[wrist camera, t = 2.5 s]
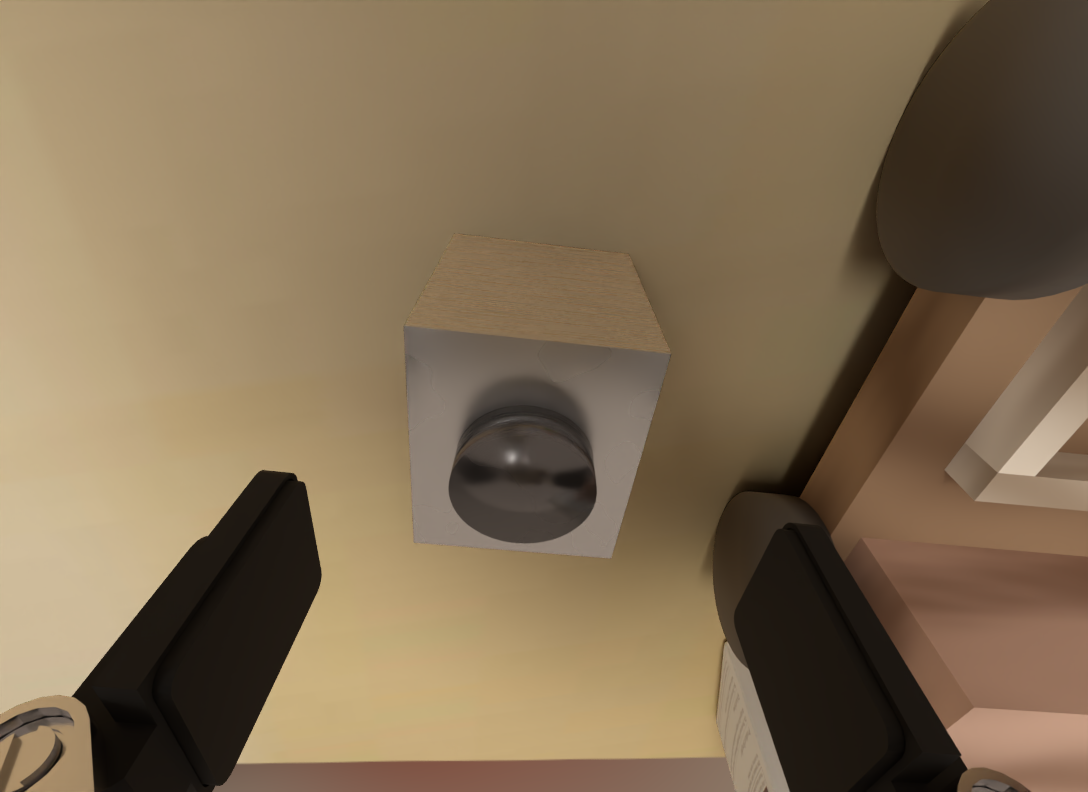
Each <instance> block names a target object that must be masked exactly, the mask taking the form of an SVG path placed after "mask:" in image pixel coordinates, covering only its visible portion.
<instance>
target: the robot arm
mask: <svg viewBox="0 0 1088 792" xmlns="http://www.w3.org/2000/svg"><path fill="white" fill-rule="evenodd" d="M321 575H322V574H321V567H320V561H319V556H318V550H317V545H316V539H315V534H314V528H313V523H312V518H311V512H310V507H309V501H308V496H307V490H306V486H305V483H304V482H300V481H298V480H297V477H296V475H295V474H294V473H286V472H276V471H266V470H262V471H260V472H258V473H257V474H256V475H255V477H254V478H253V479H252V480H251V482H250V483H249V484H248V486H247V487H246V488H245V489H244V491H243V492H242V493H241V495H240V496H239V497H238V498H237V500H236V501H235V502H234V504H233V505H232V506H231V507H230V509H229V510H228V511H227V513H226V514H225V515H224V516H223V518H222V519H221V520H220V522H219V523H218V524H217V525H216V527H215V528H214V529H213V530H212V532H211V533H210V534H209V536H205V537H203V538H201V539H200V540H198V541H197V542H196V543H195V544H194V545H193V546H192V547H191V548H190V549H189V550H188V552H187V553H186V554H185V555H184V557H183V558H182V559H181V560H180V562H179V563H178V564H177V565H176V567H175V568H174V569H173V570H172V572H171V573H170V574H169V575H168V577H167V578H166V579H165V580H164V582H163V583H162V584H161V585H160V587H159V588H158V589H157V590H156V592H155V593H154V594H153V595H152V597H151V598H150V599H149V600H148V602H147V603H146V604H145V605H144V607H143V608H142V609H141V610H140V612H139V613H138V614H137V615H136V617H135V618H134V619H133V621H132V622H131V623H130V624H129V626H128V627H127V628H126V629H125V631H124V632H123V633H122V634H121V636H120V637H119V638H118V639H117V641H116V642H115V643H114V644H113V646H112V647H111V648H110V649H109V651H108V652H107V653H106V654H105V656H104V657H103V658H102V659H101V661H100V662H99V663H98V664H97V666H96V667H95V668H94V669H93V671H92V672H91V673H90V674H89V676H88V677H87V678H86V679H85V681H84V682H83V683H82V684H81V686H80V687H79V688H78V690H77V691H76V692H75V693H74V695H73V696H72V697H68V696H62V695H55V696H48V697H40V698H37V699H34V700H31V701H28V702H25V703H23V704H20V705H17V706H15V707H13V708H11V709H9V710H8V711H6V712H4V713H2V714H0V792H212V791H213V789H214V787H215V785H216V786H220V785H223V784H224V783H225V782H226V781H227V779H228V778H229V776H230V775H231V773H232V771H233V769H234V767H235V765H236V763H237V761H238V759H239V756H240V754H241V752H242V750H243V748H244V746H245V744H246V742H247V740H248V737H249V735H250V733H251V731H252V729H253V727H254V725H255V723H256V721H257V718H258V716H259V714H260V712H261V710H262V708H263V706H264V704H265V702H266V699H267V697H268V695H269V693H270V691H271V689H272V687H273V685H274V683H275V680H276V678H277V676H278V674H279V672H280V670H281V668H282V666H283V664H284V661H285V659H286V657H287V655H288V653H289V651H290V649H291V647H292V645H293V642H294V640H295V638H296V636H297V634H298V632H299V630H300V628H301V626H302V623H303V621H304V619H305V617H306V615H307V613H308V611H309V609H310V607H311V604H312V602H313V600H314V598H315V596H316V594H317V592H318V589H319V586H320V582H321ZM734 626H735V629H736V633H737V635H738V638H739V641H740V644H741V647H742V650H743V653H744V656H745V659H746V662H747V665H748V668H749V671H750V674H751V677H752V680H753V683H754V686H755V689H756V692H757V695H758V698H759V701H760V704H761V707H762V710H763V713H764V716H765V719H766V722H767V725H768V728H769V731H770V734H771V737H772V740H773V743H774V746H775V749H776V752H777V755H778V758H779V761H780V764H781V767H782V770H783V773H784V776H785V779H786V782H787V785H788V788H789V791H790V792H1031V791H1030V790H1029V789H1027V788H1026V787H1025V786H1023V785H1022V784H1021V783H1019V782H1018V781H1016V780H1014V779H1012V778H1010V777H1009V776H1007V775H1005V774H1003V773H1001V772H998V771H995V770H992V769H988V768H985V767H981V768H970V769H969V770H968V769H967V767H966V765H965V764H964V762H963V761H962V759H961V757H960V756H962V755H961V753H960V751H959V750H958V748H957V747H956V745H955V743H954V742H953V740H952V738H951V737H950V735H949V733H948V732H947V730H946V729H945V727H944V725H943V724H942V722H941V720H940V719H939V717H938V715H937V714H936V712H935V711H934V709H933V707H932V706H931V704H930V702H929V701H928V699H927V697H926V696H925V694H924V693H923V691H922V689H921V688H920V686H919V684H918V683H917V681H916V679H915V678H914V676H913V675H912V673H911V671H910V670H909V668H908V666H907V665H906V663H905V661H904V660H903V658H902V657H901V655H900V653H899V652H898V650H897V648H896V647H895V645H894V643H893V642H892V640H891V639H890V637H889V635H888V634H887V632H886V630H885V629H884V627H883V625H882V624H881V622H880V621H879V619H878V617H877V616H876V614H875V612H874V611H873V609H872V607H871V606H870V604H869V603H868V601H867V599H866V598H865V596H864V594H863V593H862V591H861V589H860V588H859V586H858V585H857V583H856V581H855V580H854V578H853V576H852V575H851V573H850V572H849V570H848V568H847V567H846V565H845V563H844V562H843V560H842V558H841V557H840V555H839V554H838V552H837V550H836V549H835V547H834V545H833V544H832V542H831V540H830V539H829V537H828V536H827V534H826V532H825V531H824V530H823V528H822V527H820V526H818V525H811V524H801V523H789V522H788V523H787V524H785V525H784V527H783V528H782V529H777V530H776V531H775V533H774V535H773V536H772V538H771V540H770V542H769V544H768V546H767V548H766V550H765V552H764V554H763V556H762V558H761V560H760V562H759V564H758V566H757V568H756V570H755V572H754V574H753V576H752V578H751V579H750V581H749V583H748V585H747V587H746V589H745V591H744V593H743V595H742V597H741V599H740V601H739V603H738V605H737V607H736V609H735V612H734Z"/></svg>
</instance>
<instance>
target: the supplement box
mask: <svg viewBox="0 0 1088 792" xmlns="http://www.w3.org/2000/svg"><path fill="white" fill-rule="evenodd" d="M716 723H717V726H718V729H719V733H720V736H721V740H722V744H723V747H724V751H725V755H726V758H727V762H728V766H729V769H730V773H731V777H732V780H733V784H734V788H735V792H790V791H789V788H788V785H787V782H786V779H785V776H784V773H783V770H782V767H781V764H780V761H779V758H778V755H777V752H776V749H775V746H774V743H773V740H772V737H771V734H770V731H769V728H768V725H767V722H766V719H765V716H764V713H763V710H762V707H761V704H760V701H759V698H758V695H757V692H756V689H755V686H754V683H753V680H752V677H751V674H750V671H749V669H748V668H746V667H745V666H744V665H743V664H742V663H741V662H740V661H739V660H738V658H737V657H736V656H735V654H734V653H733V651H732V649H731V647H730V645H729V644H728V641H726V642H725V644H724V651H723V661H722V671H721V681H720V691H719V700H718V709H717V719H716Z"/></svg>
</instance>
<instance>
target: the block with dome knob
mask: <svg viewBox="0 0 1088 792" xmlns="http://www.w3.org/2000/svg"><path fill="white" fill-rule="evenodd" d="M404 342H405V363H406V384H407V406H408V427H409V448H410V469H411V490H412V511H413V533H414V543H425V544H437V545H450V546H462V547H474V548H487V549H499V550H512V551H524V552H537V553H549V554H561V555H574V556H586V557H599V558H611V557H612V554H613V551H614V547H615V544H616V540H617V537H618V534H619V530H620V527H621V523H622V520H623V517H624V513H625V510H626V506H627V503H628V500H629V496H630V493H631V489H632V486H633V483H634V479H635V476H636V472H637V469H638V465H639V462H640V459H641V455H642V452H643V448H644V445H645V442H646V438H647V435H648V431H649V428H650V425H651V421H652V418H653V414H654V411H655V408H656V404H657V401H658V397H659V394H660V391H661V387H662V384H663V380H664V377H665V374H666V370H667V367H668V363H669V360H670V357H671V352H670V350H669V347H668V345H667V343H666V340H665V338H664V336H663V333H662V331H661V329H660V326H659V324H658V322H657V319H656V317H655V314H654V312H653V310H652V307H651V305H650V303H649V300H648V298H647V296H646V293H645V291H644V289H643V286H642V284H641V282H640V279H639V277H638V275H637V272H636V270H635V267H634V265H633V263H632V260H631V258H630V256H629V254H626V253H618V252H609V251H601V250H592V249H584V248H575V247H566V246H558V245H549V244H541V243H532V242H524V241H515V240H507V239H498V238H489V237H481V236H472V235H464V234H454V235H453V237H452V239H451V241H450V243H449V245H448V246H447V248H446V250H445V252H444V254H443V255H442V257H441V259H440V261H439V263H438V264H437V266H436V268H435V270H434V272H433V274H432V275H431V277H430V279H429V281H428V283H427V284H426V286H425V288H424V290H423V292H422V293H421V295H420V297H419V299H418V301H417V303H416V304H415V306H414V308H413V310H412V312H411V313H410V315H409V317H408V319H407V321H406V322H405V324H404Z"/></svg>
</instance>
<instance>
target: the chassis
mask: <svg viewBox="0 0 1088 792" xmlns="http://www.w3.org/2000/svg"><path fill="white" fill-rule="evenodd" d="M877 229H878V236H879V240H880V244H881V247H882V250H883V252H884V255H885V257H886V259H887V261H888V262H889V264H890V266H891V267H892V268H893V269H894V271H895V272H896V273H897V274H898V275H899V276H900V277H901V278H903V279H904V280H905V281H907V282H908V283H910V284H912V285H914V286H916V287H917V289H916V291H915V293H914V295H913V296H912V298H911V300H910V302H909V303H908V305H907V307H906V309H905V311H904V312H903V314H902V316H901V318H900V320H899V321H898V323H897V325H896V327H895V328H894V330H893V332H892V334H891V336H890V337H889V339H888V341H887V343H886V344H885V346H884V348H883V350H882V352H881V353H880V355H879V357H878V359H877V360H876V362H875V364H874V366H873V368H872V369H871V371H870V373H869V375H868V376H867V378H866V380H865V382H864V384H863V385H862V387H861V389H860V391H859V393H858V394H857V396H856V398H855V400H854V401H853V403H852V405H851V407H850V409H849V410H848V412H847V414H846V416H845V417H844V419H843V421H842V423H841V425H840V426H839V428H838V430H837V432H836V433H835V435H834V437H833V439H832V441H831V442H830V444H829V446H828V448H827V450H826V451H825V453H824V455H823V457H822V458H821V460H820V462H819V464H818V466H817V467H816V469H815V471H814V473H813V474H812V476H811V478H810V480H809V482H808V483H807V485H806V487H805V489H804V490H803V492H802V494H801V496H800V498H799V497H796V496H793V495H784V494H773V493H762V492H751V491H746V492H741V493H739V494H737V495H736V496H735V497H733V498H732V500H731V501H730V502H729V503H728V505H727V506H726V508H725V510H724V512H723V514H722V516H721V519H720V522H719V525H718V528H717V533H716V538H715V544H714V553H713V584H714V593H715V600H716V606H717V611H718V615H719V619H720V622H721V626H722V629H723V632H724V634H725V637H726V639H727V641H728V644H729V645H730V647H731V649H732V651H733V653H734V654H735V656H736V657H737V658H738V660H739V661H740V662H741V663H742V664H743V665H744V666H745V667H746V668H748V665H747V662H746V659H745V656H744V653H743V650H742V647H741V644H740V641H739V638H738V635H737V633H736V629H735V626H734V612H735V609H736V607H737V605H738V603H739V601H740V599H741V597H742V595H743V593H744V591H745V589H746V587H747V585H748V583H749V581H750V579H751V578H752V576H753V574H754V572H755V570H756V568H757V566H758V564H759V562H760V560H761V558H762V556H763V554H764V552H765V550H766V548H767V546H768V544H769V542H770V540H771V538H772V536H773V535H774V533H775V531H776V530H777V529H782V528H783V527H784V525H785V524H787V523H788V522H789V523H801V524H811V525H818V526H820V527H822V528H823V530H824V531H825V532H826V534H827V536H828V537H829V539H830V540H831V542H832V544H833V545H834V547H835V549H836V550H837V552H838V554H839V555H840V557H841V558H842V560H843V562H844V563H845V565H846V567H847V568H848V570H849V572H850V573H851V575H852V576H853V578H854V580H855V581H856V583H857V585H858V586H859V588H860V589H861V591H862V593H863V594H864V596H865V598H866V599H867V601H868V603H869V604H870V606H871V607H872V609H873V611H874V612H875V614H876V616H877V617H878V619H879V621H880V622H881V624H882V625H883V627H884V629H885V630H886V632H887V634H888V635H889V637H890V639H891V640H892V642H893V643H894V645H895V647H896V648H897V650H898V652H899V653H900V655H901V657H902V658H903V660H904V661H905V663H906V665H907V666H908V668H909V670H910V671H911V673H912V675H913V676H914V678H915V679H916V681H917V683H918V684H919V686H920V688H921V689H922V691H923V693H924V694H925V696H926V697H927V699H928V701H929V702H930V704H931V706H932V707H933V709H934V711H935V712H936V714H937V715H938V717H939V719H940V720H941V722H942V724H943V725H944V727H945V729H946V730H947V732H948V733H949V735H950V737H951V738H952V740H953V742H954V743H955V745H956V747H957V748H958V750H959V751H960V753H961V755H962V756H960V757H961V759H962V761H963V762H964V764H965V765H966V767H967V769H968V770H969V769H970V768H981V767H985V768H988V769H992V770H995V771H998V772H1001V773H1003V774H1005V775H1007V776H1009V777H1010V778H1012V779H1014V780H1016V781H1018V782H1019V783H1021V784H1022V785H1023V786H1025V787H1026V788H1027V789H1029V790H1030V791H1031V792H1088V0H990V1H989V2H988V3H987V4H986V5H985V6H984V7H983V8H981V9H980V10H979V11H978V12H977V13H976V14H975V15H974V16H973V17H972V18H971V19H970V20H969V22H968V23H967V24H966V25H965V26H964V27H963V28H962V29H961V30H960V31H959V32H958V33H957V35H956V36H955V37H954V38H953V40H952V41H951V42H950V43H949V44H948V46H947V47H946V48H945V49H944V51H943V52H942V53H941V55H940V56H939V57H938V59H937V60H936V61H935V63H934V64H933V66H932V67H931V68H930V70H929V71H928V73H927V74H926V76H925V77H924V79H923V81H922V82H921V84H920V85H919V87H918V88H917V90H916V92H915V94H914V95H913V97H912V99H911V101H910V103H909V104H908V106H907V108H906V110H905V112H904V114H903V116H902V118H901V120H900V122H899V124H898V127H897V129H896V132H895V134H894V136H893V139H892V141H891V144H890V147H889V150H888V153H887V156H886V159H885V162H884V166H883V170H882V174H881V178H880V184H879V189H878V197H877ZM748 669H749V668H748Z"/></svg>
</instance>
